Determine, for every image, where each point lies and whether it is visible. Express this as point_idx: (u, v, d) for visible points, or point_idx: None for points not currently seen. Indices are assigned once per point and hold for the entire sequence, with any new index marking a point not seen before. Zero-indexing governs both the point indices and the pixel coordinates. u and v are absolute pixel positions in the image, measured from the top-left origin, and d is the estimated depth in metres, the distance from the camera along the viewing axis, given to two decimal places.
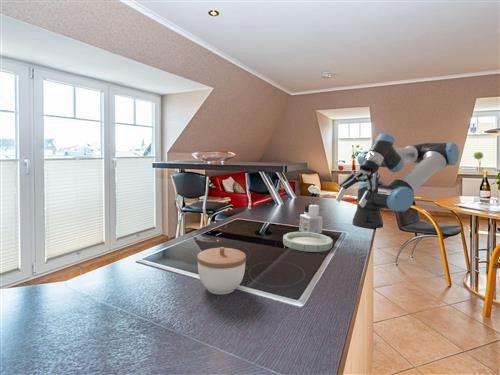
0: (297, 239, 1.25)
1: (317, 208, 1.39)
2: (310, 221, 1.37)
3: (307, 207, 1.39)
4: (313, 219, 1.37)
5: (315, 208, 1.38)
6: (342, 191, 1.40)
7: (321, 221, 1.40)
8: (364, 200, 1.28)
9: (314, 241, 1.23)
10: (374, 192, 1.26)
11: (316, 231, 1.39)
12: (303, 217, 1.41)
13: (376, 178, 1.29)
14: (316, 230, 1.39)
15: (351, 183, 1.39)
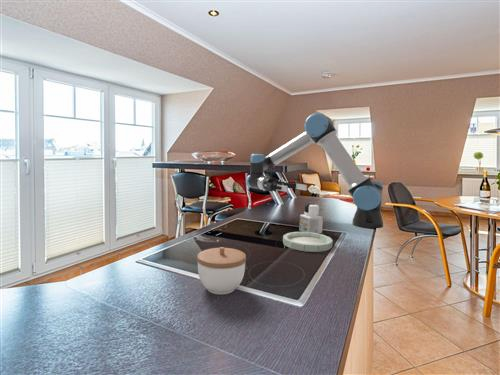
0: (297, 239, 1.25)
1: (317, 208, 1.39)
2: (310, 221, 1.37)
3: (307, 207, 1.39)
4: (313, 219, 1.37)
5: (315, 208, 1.38)
6: (298, 187, 1.56)
7: (321, 221, 1.40)
8: (282, 188, 1.45)
9: (314, 241, 1.23)
10: (272, 187, 1.47)
11: (316, 231, 1.39)
12: (303, 217, 1.41)
13: (267, 186, 1.54)
14: (316, 230, 1.39)
15: (289, 185, 1.58)
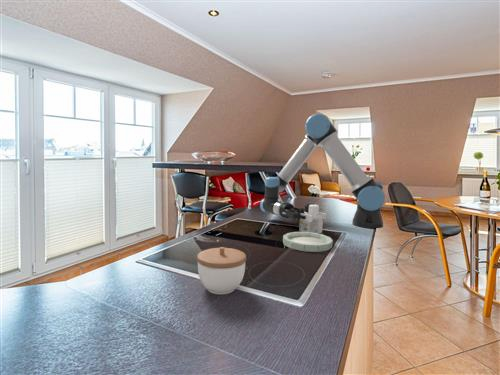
0: (297, 239, 1.25)
1: (317, 208, 1.39)
2: None
3: (307, 207, 1.39)
4: (313, 219, 1.37)
5: (315, 208, 1.38)
6: None
7: (321, 221, 1.40)
8: (306, 218, 1.37)
9: (314, 241, 1.23)
10: (295, 216, 1.39)
11: (316, 231, 1.39)
12: None
13: (286, 214, 1.45)
14: (316, 230, 1.39)
15: None
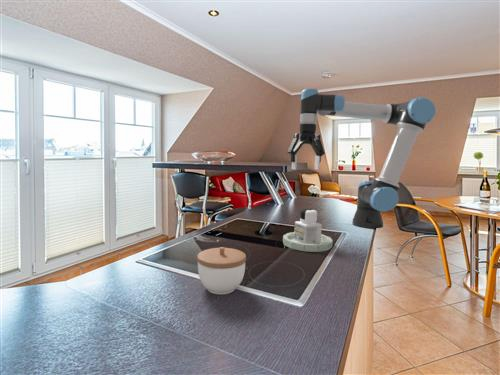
0: None
1: (315, 214, 1.19)
2: (307, 230, 1.17)
3: (303, 213, 1.19)
4: (310, 227, 1.18)
5: (313, 214, 1.18)
6: (316, 159, 1.47)
7: (319, 229, 1.20)
8: (293, 163, 1.41)
9: None
10: (290, 153, 1.39)
11: (314, 241, 1.19)
12: (299, 225, 1.21)
13: (293, 139, 1.40)
14: (314, 240, 1.19)
15: (314, 148, 1.45)
